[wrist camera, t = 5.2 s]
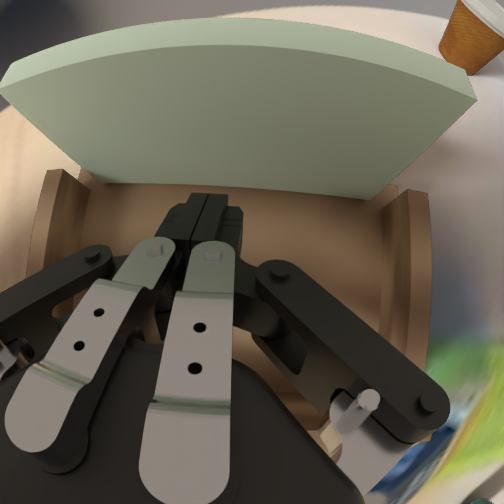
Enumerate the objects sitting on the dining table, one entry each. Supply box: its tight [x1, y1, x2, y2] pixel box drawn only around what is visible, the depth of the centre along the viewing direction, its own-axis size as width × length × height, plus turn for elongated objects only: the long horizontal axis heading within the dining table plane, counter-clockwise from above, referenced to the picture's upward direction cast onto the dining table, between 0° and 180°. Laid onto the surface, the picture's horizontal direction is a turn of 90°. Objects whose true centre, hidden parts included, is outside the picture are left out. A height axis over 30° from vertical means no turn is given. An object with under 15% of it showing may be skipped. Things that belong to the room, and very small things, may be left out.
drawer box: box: [26, 167, 432, 456], centre depth 17 cm, size 16×26×9 cm, turn 86°
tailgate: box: [0, 18, 477, 200], centre depth 13 cm, size 2×19×12 cm, turn 86°
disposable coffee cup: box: [438, 0, 504, 76], centre depth 20 cm, size 10×10×12 cm
